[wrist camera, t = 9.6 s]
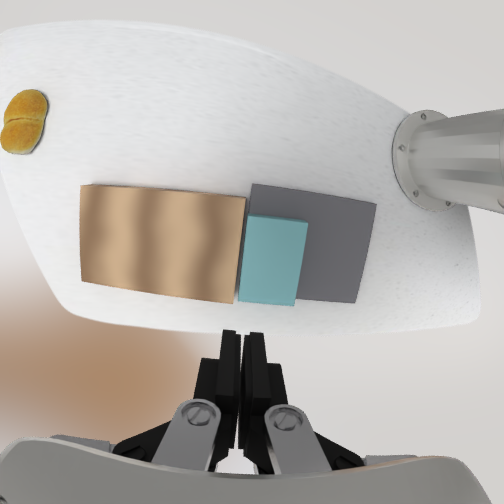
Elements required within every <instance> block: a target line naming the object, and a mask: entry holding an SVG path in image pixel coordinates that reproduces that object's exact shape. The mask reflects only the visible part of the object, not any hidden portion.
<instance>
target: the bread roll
mask: <svg viewBox="0 0 504 504" xmlns="http://www.w3.org/2000/svg"><path fill="white" fill-rule="evenodd" d="M46 113H47V101H46V99H45V98H44V96H43V95H42V94H41V93H40V92H39V91H37V90H34V89H29V90H24V91H22V92H20V93H18V94H17V95H16V96H15V97H14V98H13V99H12V100H11V102H10V103H9V105H8V107H7V109H6V111H5V114H4V128H3V130H2V132H1V136H0V142H1V145H2V148H3V149H4V150H6V151H7V152H9V153H11V154H21V155H22V154H29V153H30V152H31V151H32V150H33V148H34V147H35V145H36V144H37V142H38V141H39V139H40V137H41V134H42V130H43V125H44V119H45V117H46Z"/></svg>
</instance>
